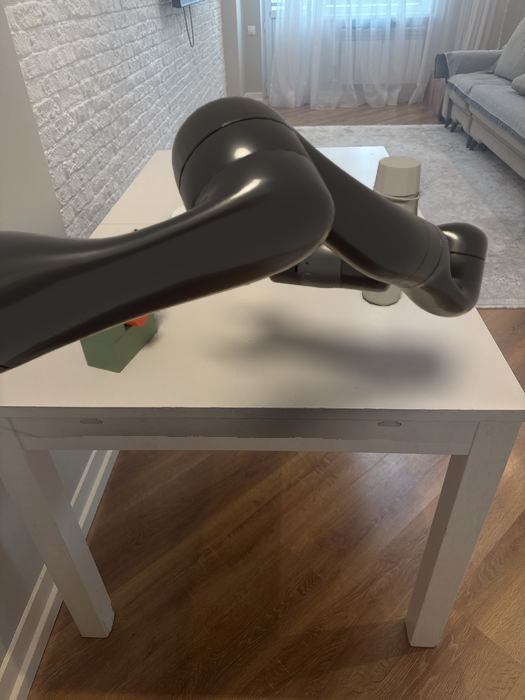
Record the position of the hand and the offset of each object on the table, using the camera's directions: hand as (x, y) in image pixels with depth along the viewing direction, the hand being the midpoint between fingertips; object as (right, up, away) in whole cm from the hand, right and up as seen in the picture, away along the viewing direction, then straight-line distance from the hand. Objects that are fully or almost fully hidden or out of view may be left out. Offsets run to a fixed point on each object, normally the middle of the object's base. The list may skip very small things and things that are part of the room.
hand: (193, 244), depth 66 cm
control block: (-14, -14, +17) cm, 26 cm away
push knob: (-11, -10, +12) cm, 19 cm away
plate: (-4, +19, +60) cm, 63 cm away
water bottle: (+33, -4, +28) cm, 43 cm away
